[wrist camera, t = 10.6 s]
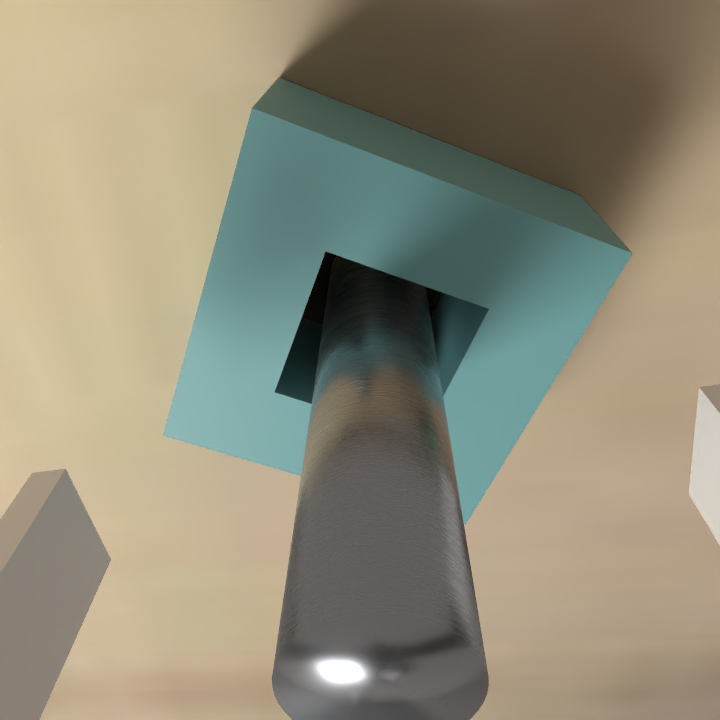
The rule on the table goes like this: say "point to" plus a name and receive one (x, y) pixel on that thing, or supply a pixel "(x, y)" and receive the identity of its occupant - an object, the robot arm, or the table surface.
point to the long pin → (378, 525)
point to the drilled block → (396, 257)
